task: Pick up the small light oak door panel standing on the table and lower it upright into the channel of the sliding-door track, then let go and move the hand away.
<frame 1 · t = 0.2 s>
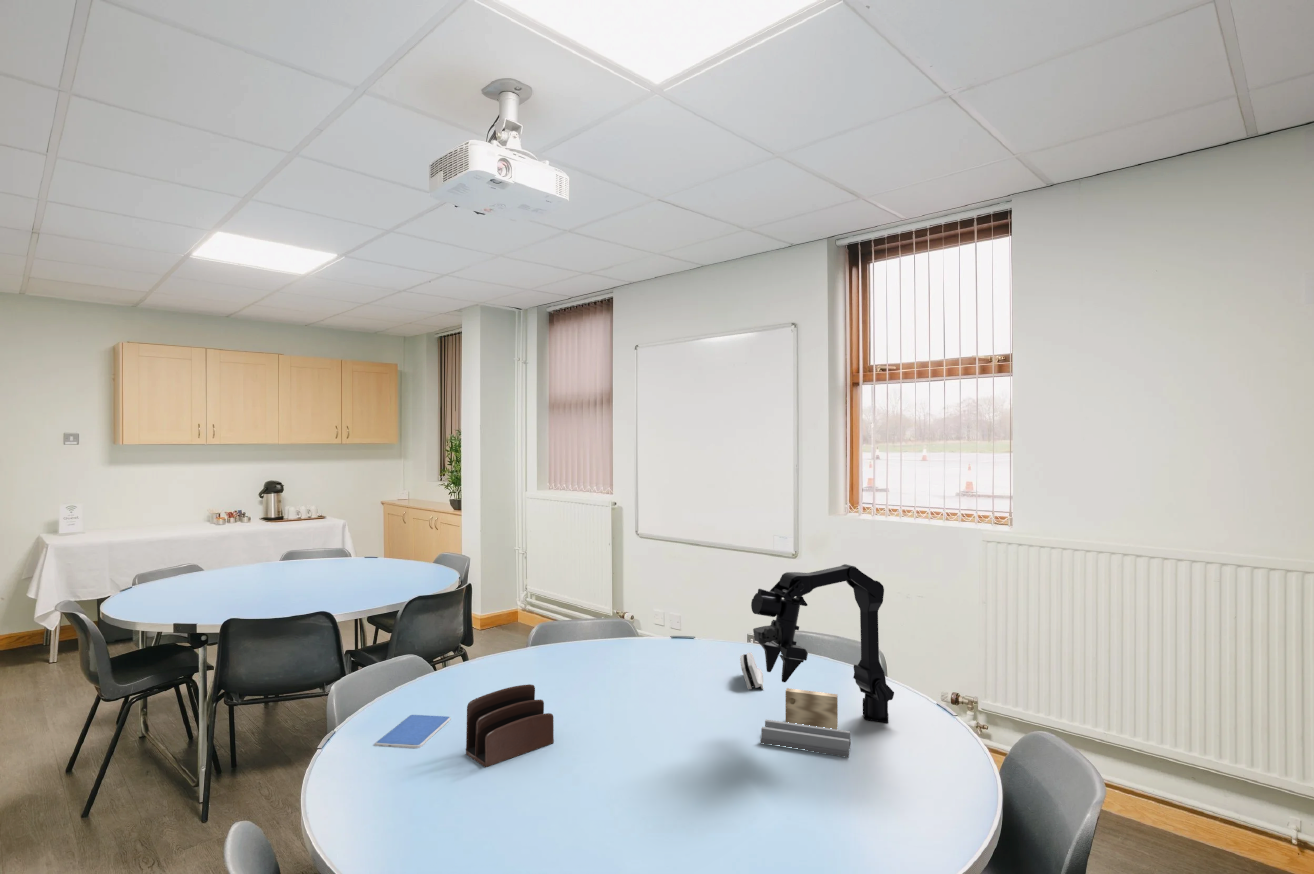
hand: (775, 676, 177), 15 cm above the table, tool pointing down, fingers open, 9 cm apart
tablet computer: (414, 734, 176), on the table
letter holder: (510, 750, 166), on the table
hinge: (751, 682, 218), on the table
door panel: (811, 725, 182), on the table
door track: (805, 743, 170), on the table
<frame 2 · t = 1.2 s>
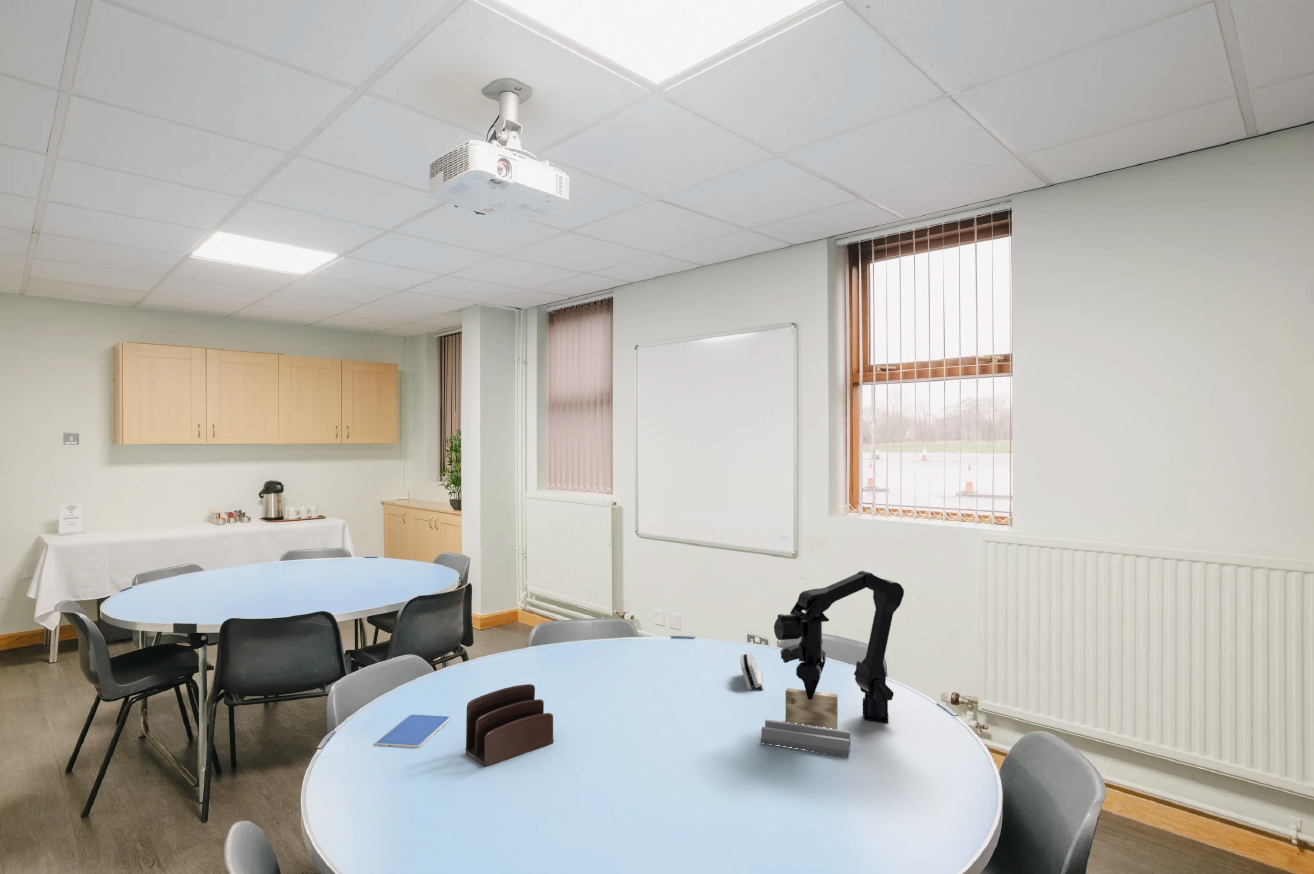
hand: (811, 693, 183), 9 cm above the table, tool pointing down, fingers open, 9 cm apart
nothing on the table moved.
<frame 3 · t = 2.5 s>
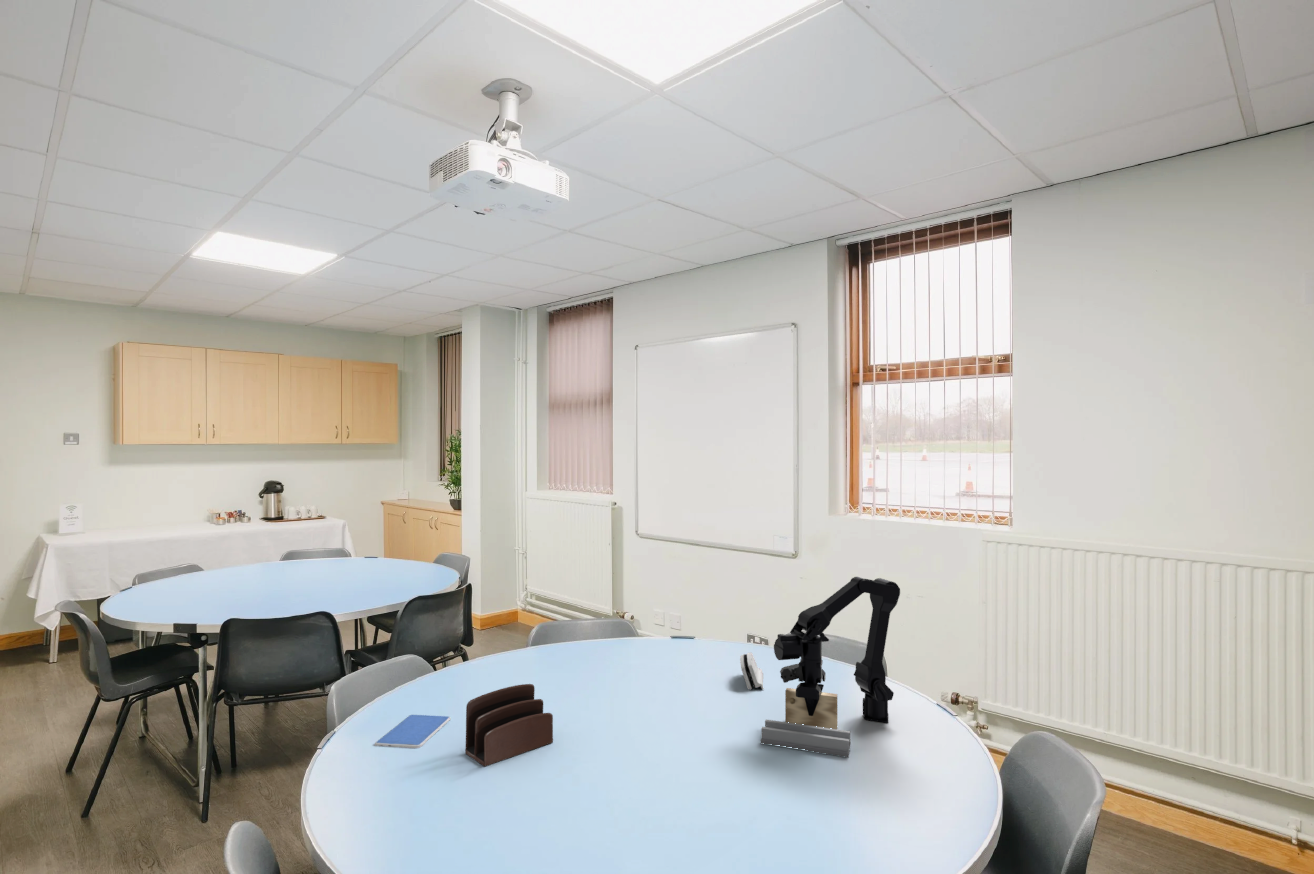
hand: (811, 713, 182), 3 cm above the table, tool pointing down, fingers closed on door panel, 2 cm apart
door panel: (811, 724, 182), on the table, touching gripper
everything else where it was.
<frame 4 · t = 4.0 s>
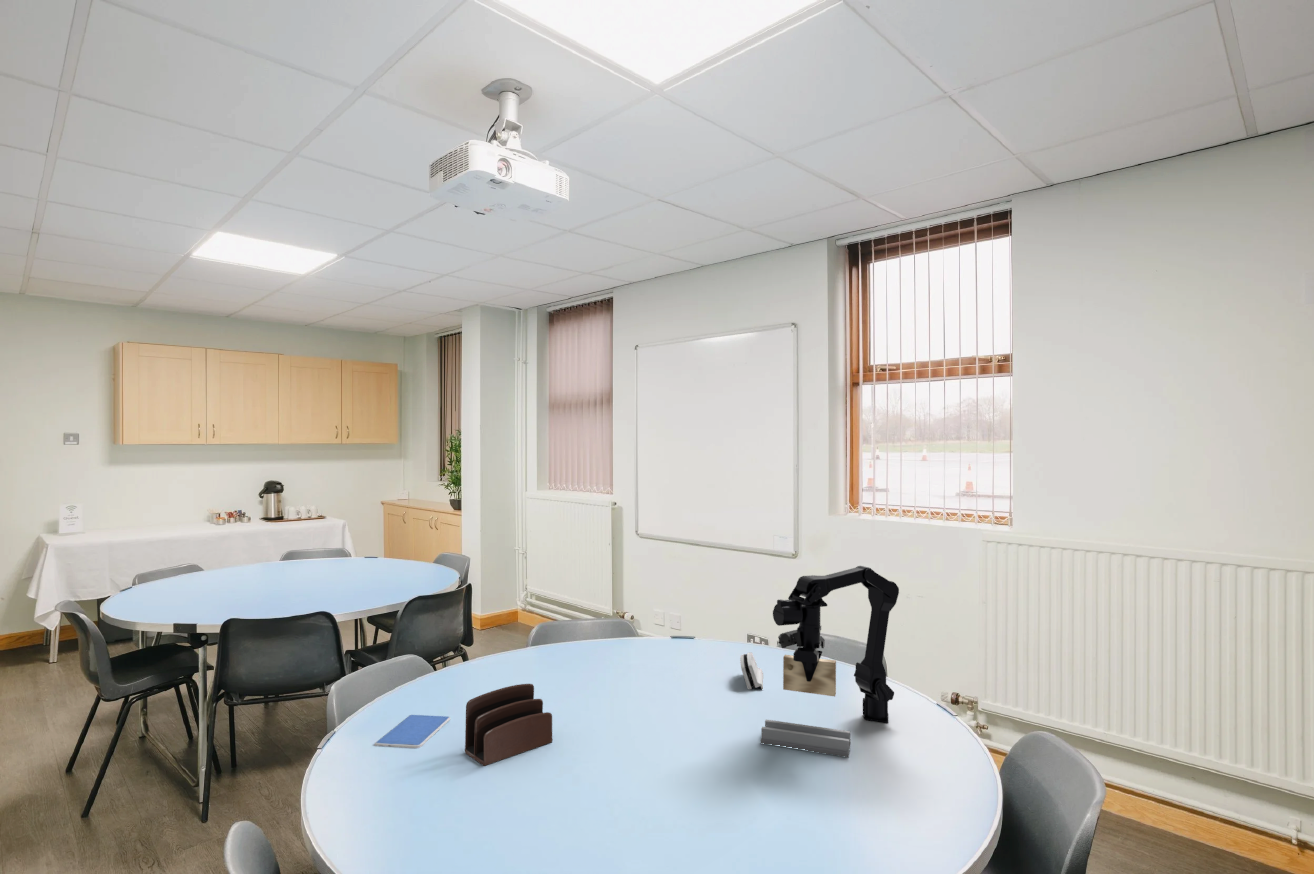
hand: (809, 679, 180), 13 cm above the table, tool pointing down, fingers closed on door panel, 2 cm apart
door panel: (809, 691, 180), point 10 cm above the table, touching gripper
everything else where it was.
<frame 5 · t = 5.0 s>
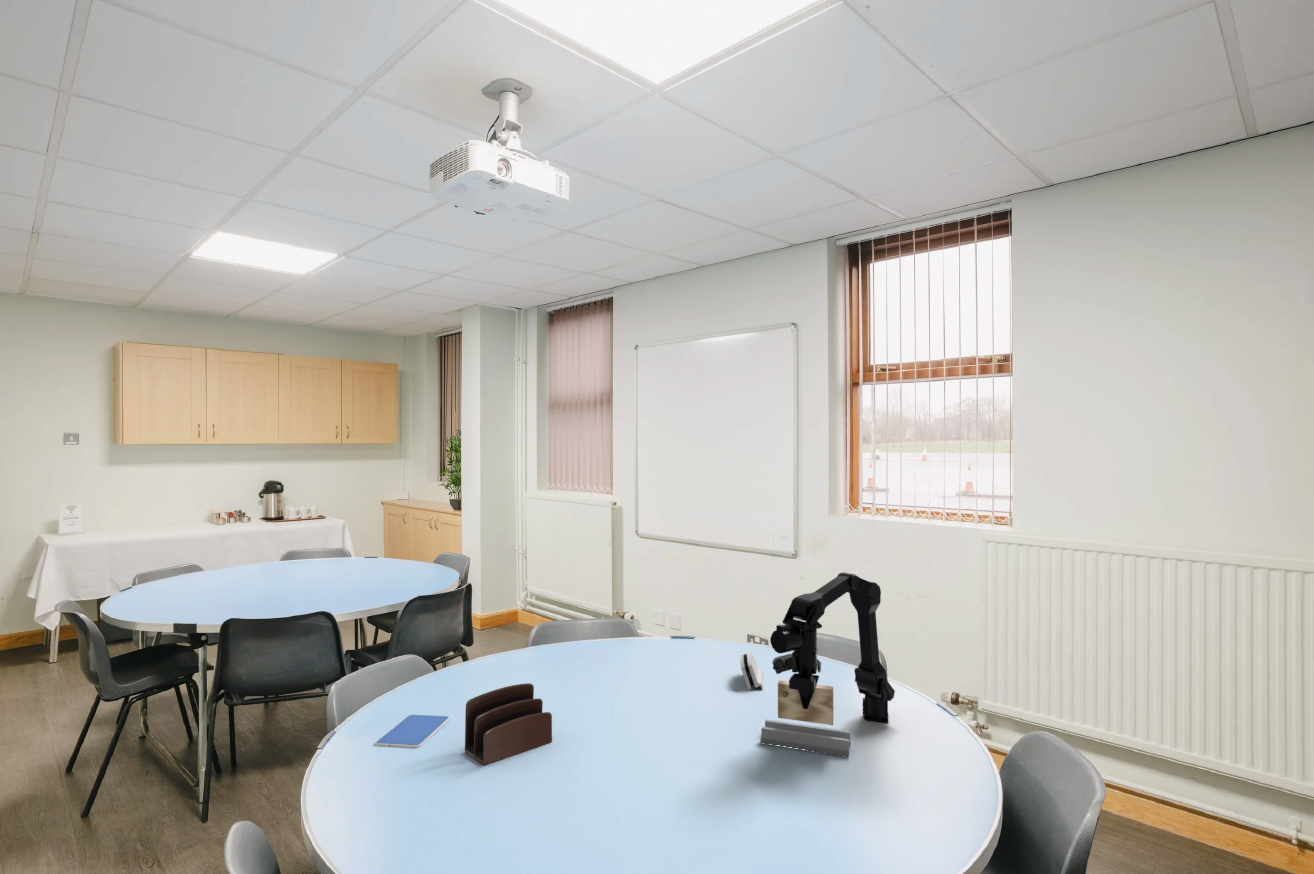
hand: (805, 706, 170), 9 cm above the table, tool pointing down, fingers closed on door panel, 2 cm apart
door panel: (805, 719, 170), point 6 cm above the table, touching gripper
everything else where it was.
when the fingers open (5 cm above the table, at t = 5.9 s): door panel drops 1 cm, resting on door track.
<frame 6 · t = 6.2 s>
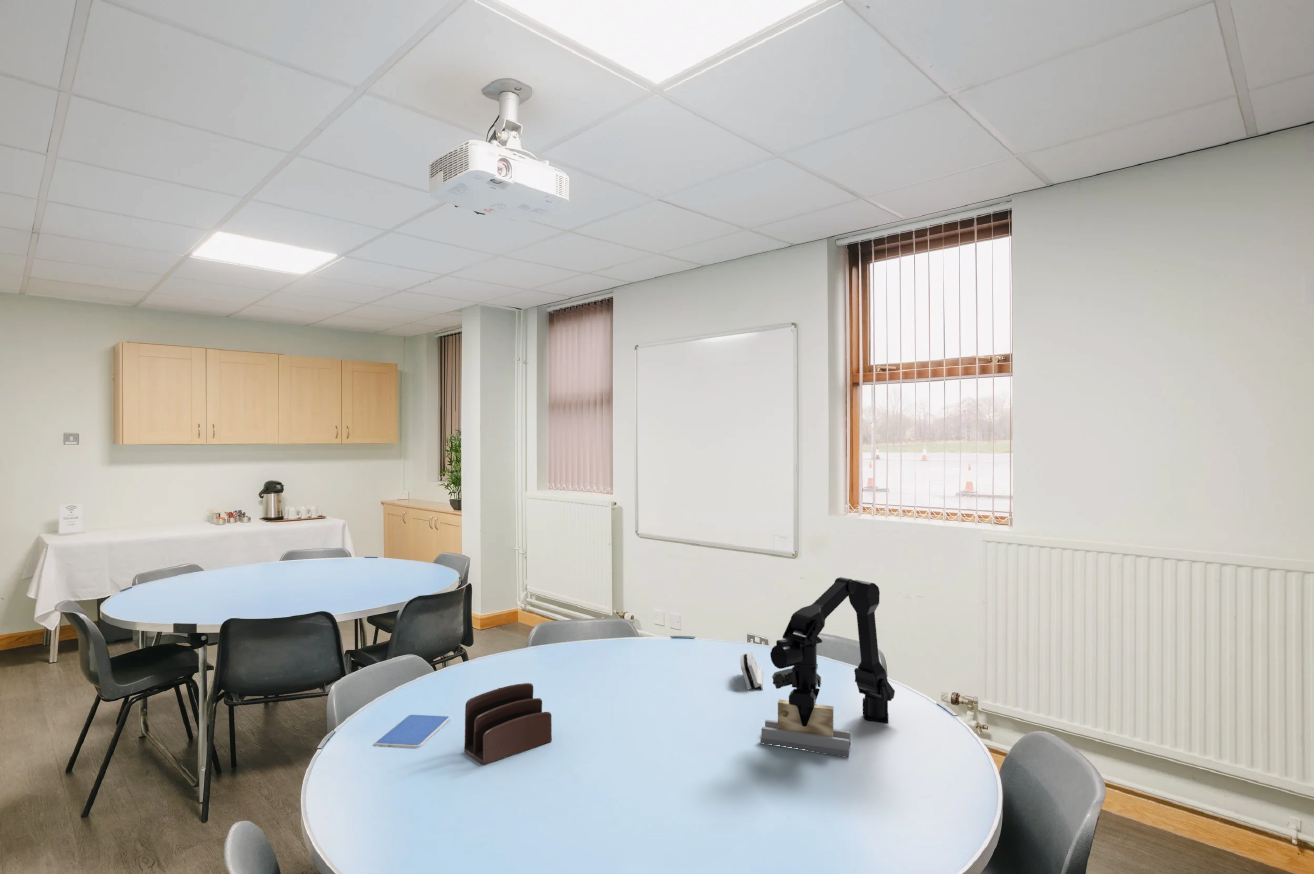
hand: (805, 721, 170), 5 cm above the table, tool pointing down, fingers open, 5 cm apart
door panel: (805, 739, 170), point 1 cm above the table, touching door track
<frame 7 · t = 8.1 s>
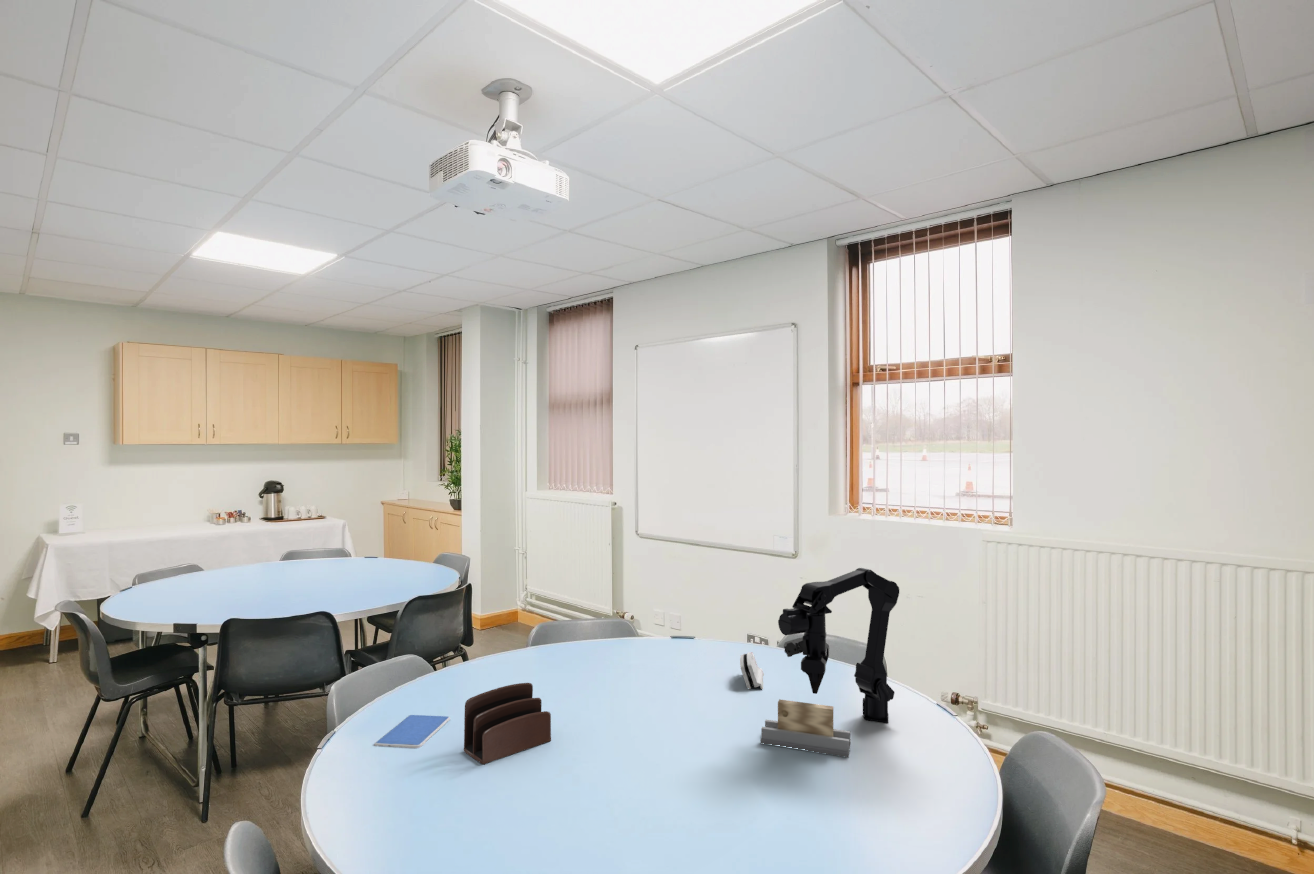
hand: (816, 687, 179), 11 cm above the table, tool pointing down, fingers open, 9 cm apart
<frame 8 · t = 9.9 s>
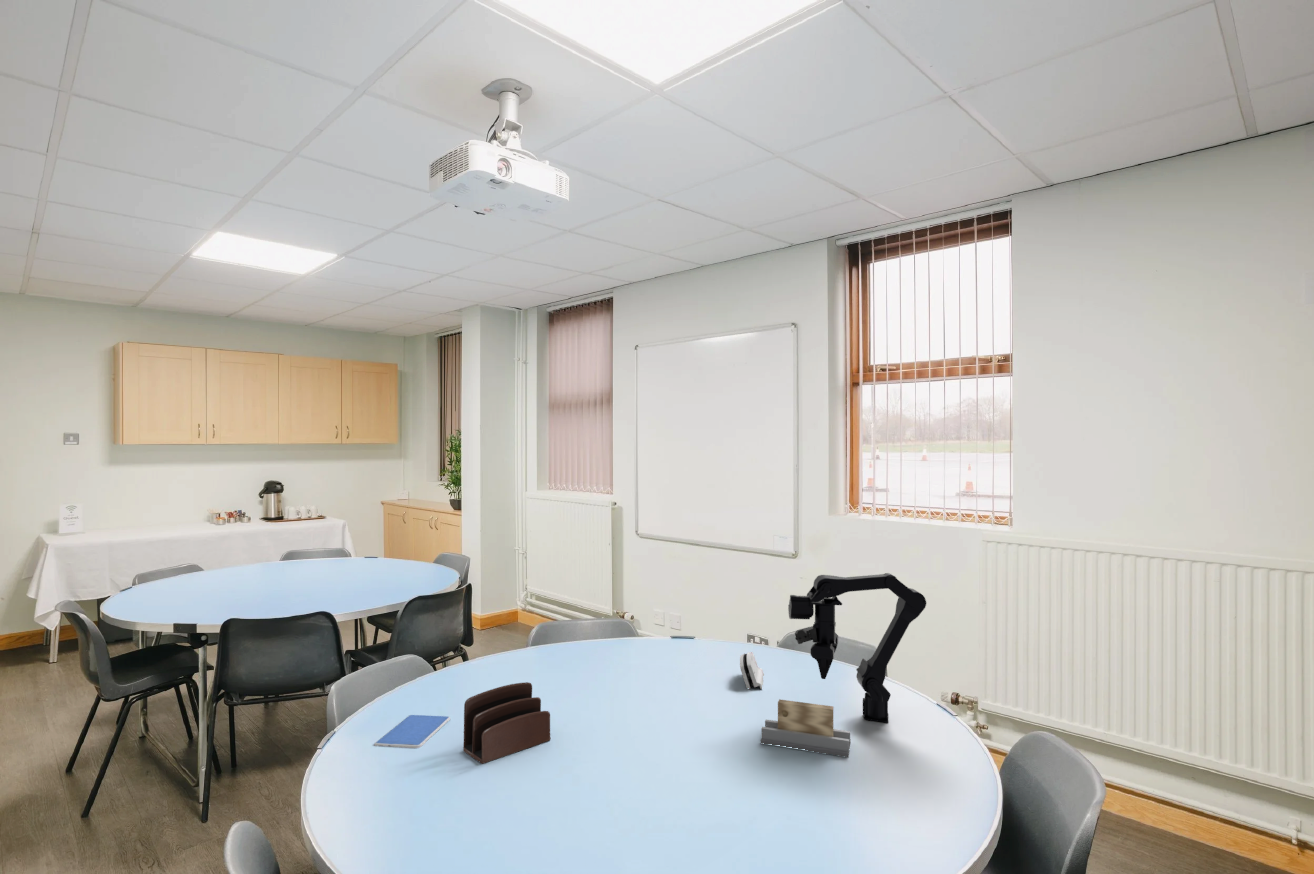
hand: (824, 673, 189), 12 cm above the table, tool pointing down, fingers open, 9 cm apart
at the end: door panel inside the target area on the door track (0.1 cm from its centre), point 1.0 cm above the door track's base; door panel tilted 0°; the gripper is holding nothing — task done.
